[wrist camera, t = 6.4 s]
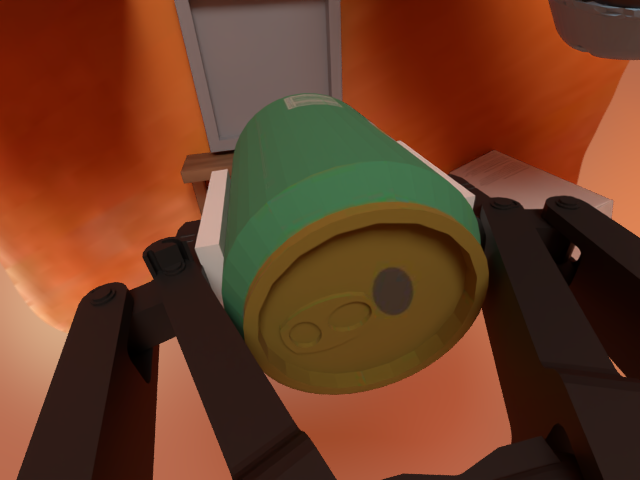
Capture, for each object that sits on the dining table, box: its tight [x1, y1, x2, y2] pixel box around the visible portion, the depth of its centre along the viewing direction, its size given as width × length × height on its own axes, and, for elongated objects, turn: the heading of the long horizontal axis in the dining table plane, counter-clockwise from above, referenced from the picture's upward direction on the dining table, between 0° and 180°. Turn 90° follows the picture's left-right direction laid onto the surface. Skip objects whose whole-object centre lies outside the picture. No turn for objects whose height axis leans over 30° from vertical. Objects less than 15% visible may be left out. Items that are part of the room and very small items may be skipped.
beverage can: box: [221, 93, 489, 395], centre depth 14 cm, size 8×8×12 cm
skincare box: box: [450, 150, 613, 260], centre depth 36 cm, size 8×7×16 cm
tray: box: [174, 0, 342, 152], centre depth 29 cm, size 13×13×2 cm
